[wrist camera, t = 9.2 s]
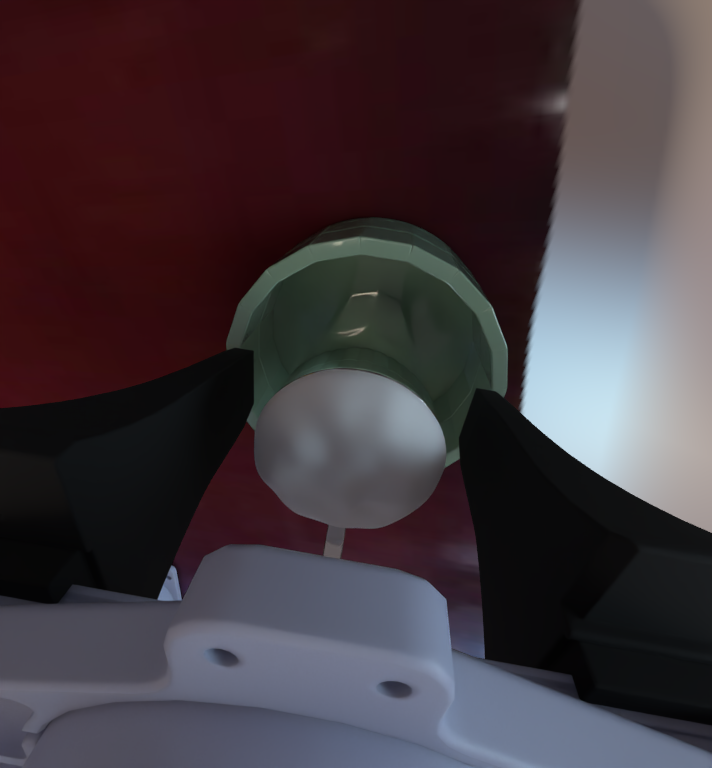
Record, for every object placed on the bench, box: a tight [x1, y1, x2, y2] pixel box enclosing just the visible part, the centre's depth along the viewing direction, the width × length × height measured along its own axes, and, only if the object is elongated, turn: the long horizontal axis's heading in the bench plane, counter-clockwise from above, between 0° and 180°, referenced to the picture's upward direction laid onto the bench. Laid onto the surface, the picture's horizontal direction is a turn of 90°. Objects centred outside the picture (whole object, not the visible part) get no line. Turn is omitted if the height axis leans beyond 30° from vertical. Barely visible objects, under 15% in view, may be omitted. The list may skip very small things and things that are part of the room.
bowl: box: [226, 217, 508, 468], centre depth 15 cm, size 9×9×4 cm
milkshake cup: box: [254, 291, 446, 559], centre depth 12 cm, size 4×5×10 cm
